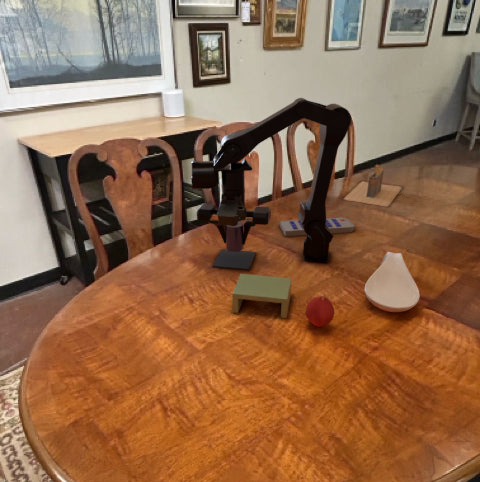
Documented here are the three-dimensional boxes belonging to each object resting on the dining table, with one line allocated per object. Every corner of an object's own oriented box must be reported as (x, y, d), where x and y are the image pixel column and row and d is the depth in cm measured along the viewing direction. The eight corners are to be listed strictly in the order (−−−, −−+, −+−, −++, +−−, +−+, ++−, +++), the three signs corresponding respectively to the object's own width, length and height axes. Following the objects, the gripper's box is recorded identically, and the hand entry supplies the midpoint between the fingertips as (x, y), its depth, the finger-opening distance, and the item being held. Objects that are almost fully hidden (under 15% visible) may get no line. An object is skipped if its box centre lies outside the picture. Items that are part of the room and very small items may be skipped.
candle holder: (245, 244, 115) (245, 221, 112) (241, 252, 111) (241, 228, 108) (228, 243, 116) (227, 219, 113) (224, 251, 112) (223, 226, 108)
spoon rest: (418, 324, 89) (424, 295, 85) (361, 315, 92) (365, 287, 89) (412, 271, 109) (418, 246, 105) (365, 265, 112) (369, 241, 108)
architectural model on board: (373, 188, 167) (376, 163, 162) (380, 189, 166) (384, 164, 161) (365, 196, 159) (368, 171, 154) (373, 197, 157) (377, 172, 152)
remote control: (280, 226, 135) (280, 220, 134) (347, 222, 137) (348, 216, 136) (285, 236, 129) (285, 230, 127) (356, 232, 131) (356, 225, 129)
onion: (302, 318, 91) (304, 287, 87) (328, 317, 92) (331, 286, 88) (308, 335, 86) (310, 303, 82) (335, 333, 87) (339, 301, 83)
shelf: (290, 296, 99) (291, 278, 97) (286, 318, 91) (287, 299, 89) (241, 291, 101) (240, 273, 99) (232, 312, 94) (232, 293, 91)
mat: (255, 253, 119) (255, 252, 119) (249, 270, 110) (249, 269, 110) (221, 250, 121) (221, 249, 120) (212, 267, 112) (212, 265, 112)
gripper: (187, 196, 100) (192, 254, 108) (265, 200, 97) (264, 260, 104) (201, 181, 110) (204, 236, 117) (271, 185, 106) (270, 241, 114)
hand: (234, 243), depth 113 cm, fingers closed on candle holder, 5 cm apart
